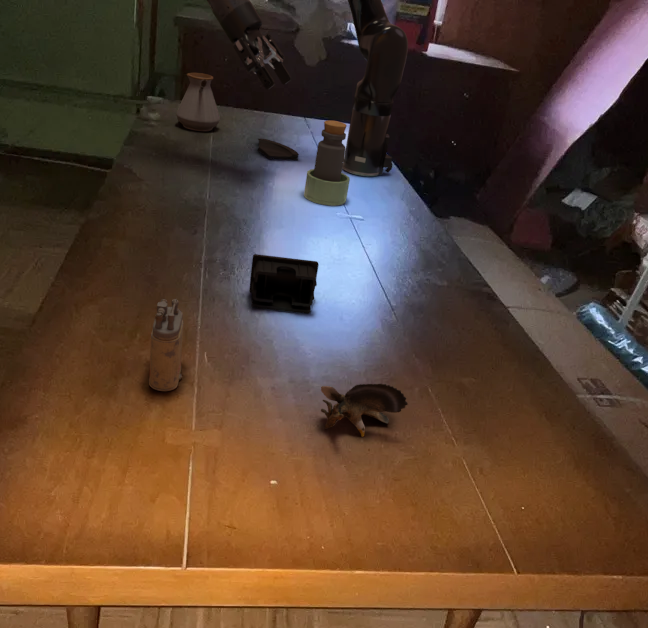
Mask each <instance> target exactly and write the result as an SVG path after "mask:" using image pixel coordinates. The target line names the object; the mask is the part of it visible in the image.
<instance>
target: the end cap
mask: <svg viewBox="0 0 648 628" xmlns="http://www.w3.org/2000/svg"><path fill="white" fill-rule="evenodd" d="M251 259H252V260H251V269H250V277H249V278H250V279H249V289H248V290H249V293H251V308H253V309H260V310H267V311H268V310H269V311H278V312H286V313H287V312H288V313H296V314H306V315H309V314H311V312H312V305H313V303H314V301H315V289H316V287H317V286H318V284H317V283H318V282H317V277H318V272H319V261H316V260H307V259H300V258H291V257H284V256H275V255H266V254H258V253H254V254H253V255H252V258H251Z"/></svg>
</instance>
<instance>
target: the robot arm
mask: <svg viewBox="0 0 648 628" xmlns="http://www.w3.org/2000/svg"><path fill="white" fill-rule="evenodd" d="M206 2H207V3H208V6H209V8H210V10H211V12H212V14H213V16H214V17H215V19H216V20H217V22H218V24H219V25H220V26H221V28H222V30H223V31H224V33H225V35H226V36H227V38H228V40H229V41H230V42H231V44H232V47H233V49H234V51H235V52H236V54H237V56H238V57H239V59H240V61H241V62H242V64H243V66H244V68H245V70H247V72H248V73H251V72H252V74H255V75H256V76H257V78H258V79H259V81H260V82H261V84H262V85H263V87H264V89H265V90H267V91H268V90H270V89H271V88H273V87H274V86H275V85H276V81H275V80H274V78H273V77H272V75H271V73H270V71H269V70H268V69H267V67H266V66H265V64H268V65H269V66H270V67H271V68H272V70H273V71H274V73H275V75H276V77H277V78H278V79H279V81H280V82H281V84H282V85H287V84H288V83H290V82H291V81H292V76H291V74H290V73H289V71H288V70H287V68H286V66H285V65H284V63H283V62H284V60H285V59H286V57H285V55H284V53H283V52H282V50H281V49H280V47H279V46H278V44H277V42H276V41H275V39H274V38H273V36H272V35H271V33H269V32H267V33H266V34H265V35H264V34H263V33H262V32H261V30H260V28H261V26H262V25H263V20H262V18H261V16H260V15H259V13H258V11H257V10H256V8H255V6H254V4H253V3H252V1H251V0H206ZM347 3H348V6H349V9H350V12H351V17H352V22H353V26H354V30H355V35H356V40H357V45H358V48H359V51H360V54H361V56H362V58H364V60H365V61H366V67H365V71H364V76H363V77H362V79H361V80H359V81H357V83H356V85H355V92H354V97H353V103H352V108H351V109H352V110H351V115H350V121H349V125H348V126H349V127H348V133H347V138H346V143H345V154H344V161H343V166H342V170H343V171H345V172H347V173H349V174H352V175H355V176H361V177H377V176H382V175H383V173H384V168H386V169H385V172H386V173H389V172H390V171H391V170H392V169H393V166H394V165H393V157H392V156H390V155H389V154H387V153H388V149H389V148H388V147H389V143H390V138H391V137H390V135H389V134H388V131H389V125H390V120H391V116H392V115H391V114H392V111H393V105H394V100H395V96H396V94H397V92H398V90H399V88H400V86H401V84H402V83H401V82H402V78H403V74H404V70H405V66H406V63H407V58H408V53H409V41H408V37H407V34H406V32H405V31H404V30H403V29H402V28H401V27H399V26H398V25H396V24H393V23H391V22H390V20H389V18H388V15H387V13H386V10H385V7H384V4H383V1H382V0H347Z"/></svg>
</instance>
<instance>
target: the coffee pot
mask: <svg viewBox="0 0 648 628" xmlns="http://www.w3.org/2000/svg"><path fill="white" fill-rule="evenodd" d="M186 76H187V78H188V81H189V85H188V86H187V89H186V91H185V93H184V95H183V98H182V100H181V102H180V104H179V106H178V108H177V110H176V112H175V116H176V118H177V120H178V122H179V123H181V124H182V127H184V128H185V129H188V130H191V131H195V132H196V131H197V132H209V131H212V130H213V129H214V128H216V126H218V125H219V123H220V121H221V116H220V112H219V110H218V106H217V103H216V100H215V97H214V93H213V90H212V88H211V84H212V81H213V80H214V76H212V75H210V74H207V73H204V72H203V73H201V72H188V73H186Z"/></svg>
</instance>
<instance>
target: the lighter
mask: <svg viewBox="0 0 648 628" xmlns="http://www.w3.org/2000/svg"><path fill="white" fill-rule="evenodd" d="M179 301H180V300H179V299H177V298H173V299H172V300H171V306H169V305H168V300H167V299H166V298H162V299H161V300H160V301H158V302H157V304H156V313H155V315H154V321H153V323H152V331H151V334H150V355H149V380H148V386H150V387H151V388H152V389H153V390H155V391H160V392H170V391H173V390H175V389H176V388H177V387H178V385H179V381H181V379H183V375H182V373H181V372H182V356H183V355H182V353H183V339H184V323H185V322H184V320H183V317H184V315H183V311H182V310H180V308H178V307H179V304H180V302H179Z"/></svg>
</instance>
